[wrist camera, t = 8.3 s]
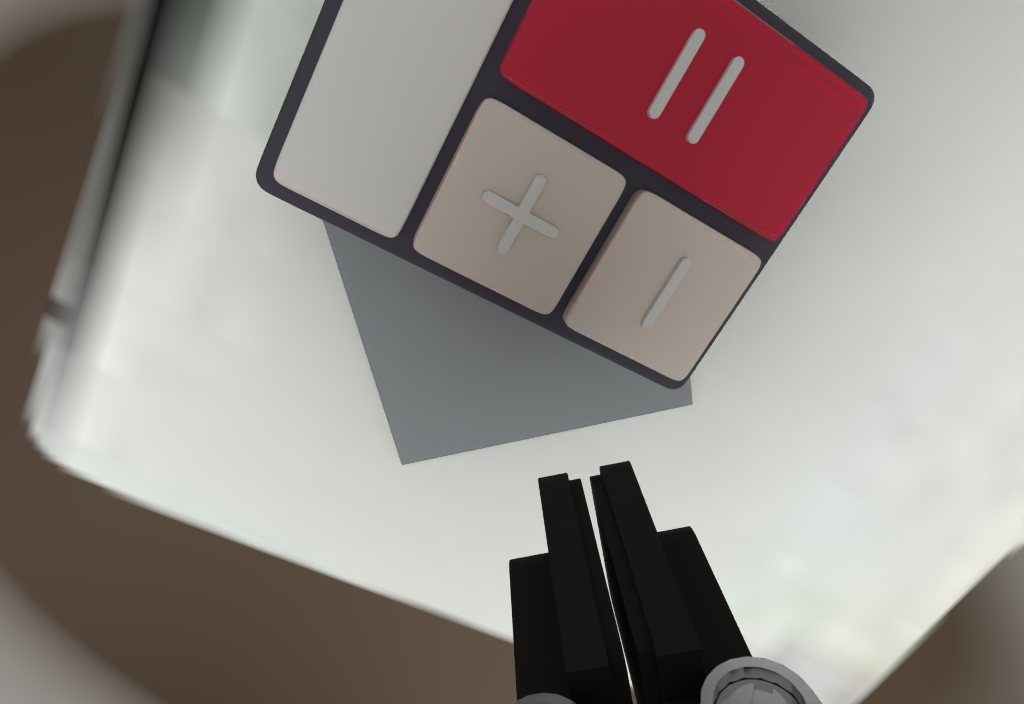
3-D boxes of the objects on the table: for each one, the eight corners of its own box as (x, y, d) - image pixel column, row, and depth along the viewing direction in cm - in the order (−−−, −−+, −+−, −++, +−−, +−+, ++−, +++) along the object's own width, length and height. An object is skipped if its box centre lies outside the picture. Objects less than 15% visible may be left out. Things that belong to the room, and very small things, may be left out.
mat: (661, 118, 21) (665, 119, 21) (689, 399, 26) (692, 404, 25) (317, 193, 21) (315, 195, 21) (403, 459, 26) (401, 464, 25)
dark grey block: (688, 405, 21) (241, 188, 16) (645, 356, 25) (275, 171, 20) (902, 93, 18) (426, -271, 14) (815, 94, 22) (425, -187, 17)
